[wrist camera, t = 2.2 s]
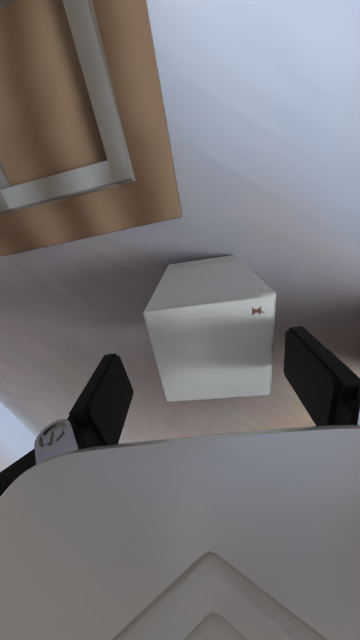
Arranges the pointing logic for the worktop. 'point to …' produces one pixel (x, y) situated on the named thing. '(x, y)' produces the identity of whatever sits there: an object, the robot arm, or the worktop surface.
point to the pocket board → (80, 123)
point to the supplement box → (212, 330)
